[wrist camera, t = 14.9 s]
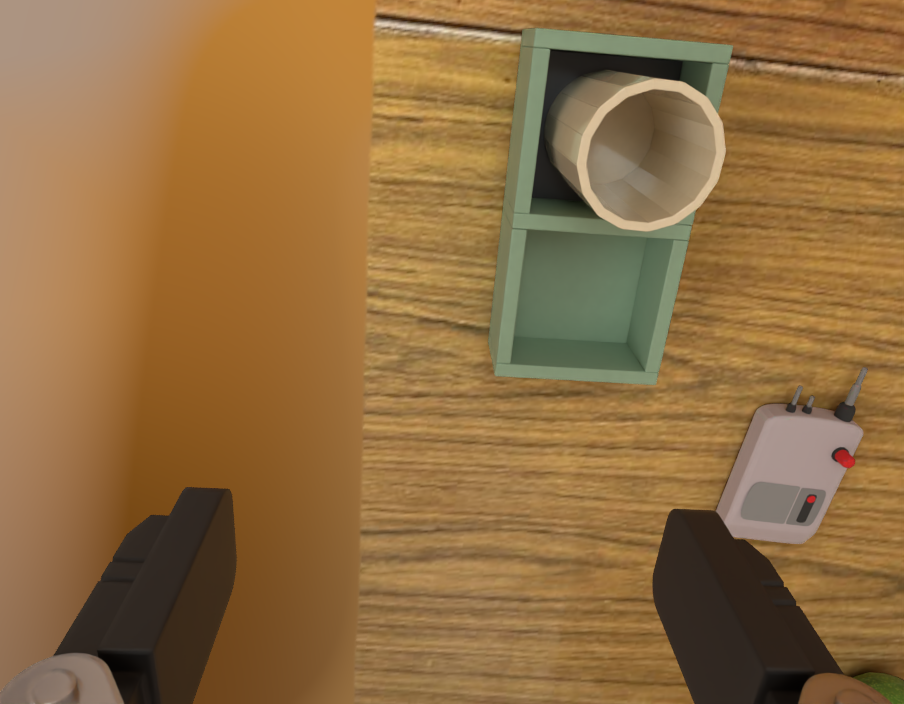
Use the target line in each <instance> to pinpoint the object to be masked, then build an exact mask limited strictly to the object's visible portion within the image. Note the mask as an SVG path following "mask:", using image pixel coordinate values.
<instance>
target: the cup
mask: <svg viewBox="0 0 904 704" xmlns="http://www.w3.org/2000/svg"><path fill="white" fill-rule="evenodd" d="M544 143H545V149H546V152H547V155H548V158H549V160H550V162H551V164H552V165H553V167H554V168H555V170H556V171H557V172H558V173H559V175H560V176H561V178H562V179H563V180H564V181H565V182H566V183H567V184H568V185H569V186H570V187H571V188H572V189H573V190H574V191H575V192H576V193H577V194H578V195H579V196H580V197H581V198H582V200H583V201H584V202H585V203H586V204H587V205H588V206H589V207H590V208H591V209H592V210H593V211H594V212H595V213H596V214H597V215H598V216H599V217H601V218H603V219H604V220H606V221H608V222H610V223H611V224H613V225H615V226H617V227H618V228H620V229H625V230H635V231H644V232H648V231H649V232H650V231H653V230H657V229H660V228H664V227H667V226H671V225H674V224H677V223H678V222H680V221H681V220H682V219H684V218H685V217H687V216H688V215H689V214H691V213H692V212H693V211H695V210H696V209H698V208H699V207H700V206H701V205H702V203H703V202H704V201H705V199H706V198H707V196H708V195H709V193H710V192H711V191H712V189H713V188H714V186H715V185H716V183H717V182H718V180H719V176H720V172H721V168H722V165H723V161H724V157H725V154H726V147H725V138H724V129H723V123H722V120H721V118H720V117H719V115H718V113H717V112H716V110H715V108H714V107H713V105H712V103H711V102H710V100H709V98H707V96H705V95H704V94H702V93H700V92H699V91H697V90H696V89H694V88H693V87H691V86H690V85H688V84H687V83H685V82H682V81H676V80H670V79H664V78H658V77H653V76H647V75H641V74H635V73H629V72H622V71H614V70H598V71H593V72H589V73H587V74H584V75H582V76H580V77H578V78H576V79H575V80H573V81H572V82H570V83H569V84H568V85H567V86H566V87H565V88H563V89H562V91H561V92H560V93H559V94H558V95H557V97H556V98H555V100H554V101H553V103H552V105H551V107H550V109H549V112H548V114H547V117H546V122H545V127H544Z"/></svg>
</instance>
